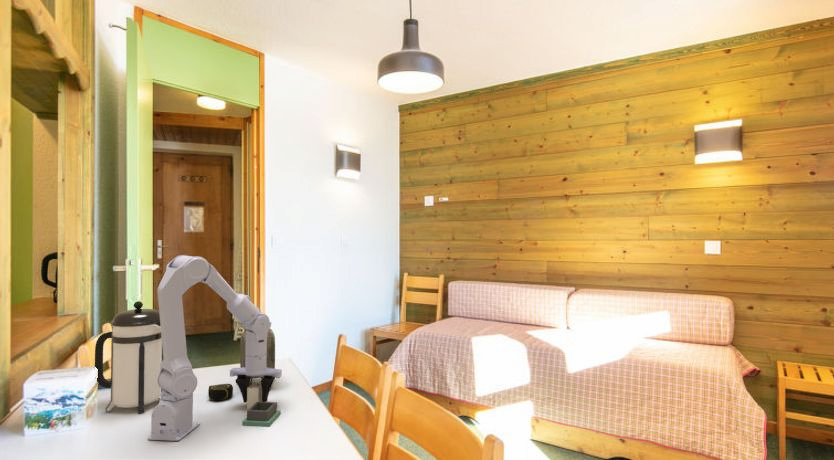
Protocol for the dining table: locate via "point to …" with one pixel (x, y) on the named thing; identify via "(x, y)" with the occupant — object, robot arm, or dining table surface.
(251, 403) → the plug
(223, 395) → the tape measure
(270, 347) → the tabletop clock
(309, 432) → the dining table surface
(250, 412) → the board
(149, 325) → the coffee press
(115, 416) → the dining table surface
